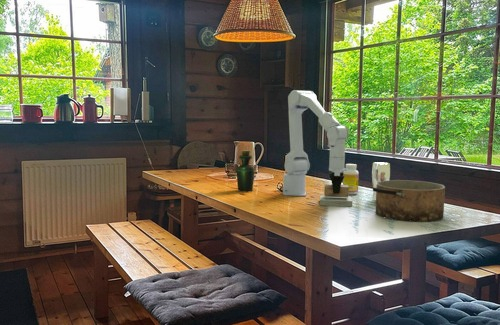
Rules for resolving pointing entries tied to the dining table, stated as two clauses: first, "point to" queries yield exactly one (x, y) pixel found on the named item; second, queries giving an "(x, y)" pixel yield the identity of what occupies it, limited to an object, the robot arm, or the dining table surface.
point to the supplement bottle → (351, 178)
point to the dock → (336, 201)
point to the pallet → (329, 193)
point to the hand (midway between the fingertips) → (336, 192)
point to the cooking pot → (410, 200)
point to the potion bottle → (245, 172)
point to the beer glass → (380, 174)
